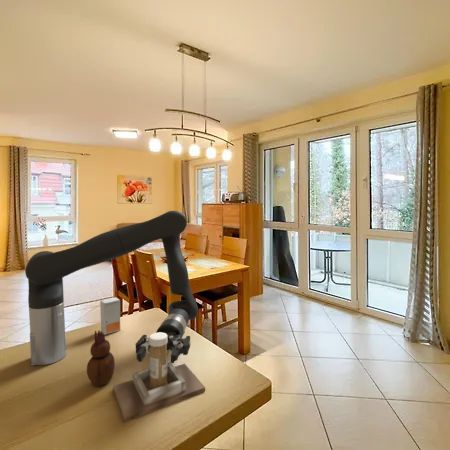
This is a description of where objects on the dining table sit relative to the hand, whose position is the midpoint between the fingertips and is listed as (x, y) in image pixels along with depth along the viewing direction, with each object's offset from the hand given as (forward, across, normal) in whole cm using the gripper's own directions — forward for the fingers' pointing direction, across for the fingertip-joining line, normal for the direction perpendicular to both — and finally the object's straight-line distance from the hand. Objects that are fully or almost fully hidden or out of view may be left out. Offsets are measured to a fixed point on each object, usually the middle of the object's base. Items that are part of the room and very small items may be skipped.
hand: (155, 358), depth 73 cm
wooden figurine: (-4, -16, +10) cm, 20 cm away
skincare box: (-35, -28, +10) cm, 46 cm away
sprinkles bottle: (-2, 0, +9) cm, 9 cm away
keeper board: (-2, 0, +10) cm, 10 cm away
